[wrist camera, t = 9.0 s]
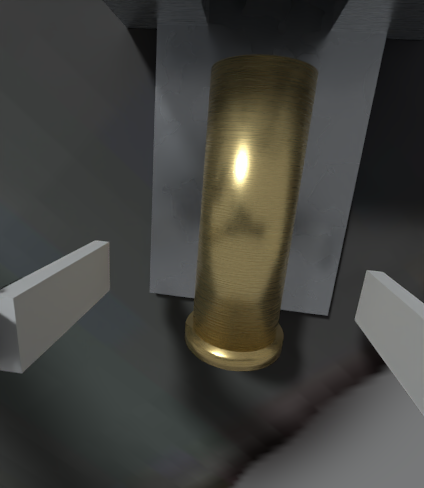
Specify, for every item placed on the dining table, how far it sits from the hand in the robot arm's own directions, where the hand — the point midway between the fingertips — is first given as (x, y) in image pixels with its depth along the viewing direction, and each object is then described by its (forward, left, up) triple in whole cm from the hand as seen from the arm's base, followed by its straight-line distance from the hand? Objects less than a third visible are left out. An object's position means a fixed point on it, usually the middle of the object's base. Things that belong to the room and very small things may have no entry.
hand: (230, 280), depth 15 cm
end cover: (0, +3, -4) cm, 5 cm away
